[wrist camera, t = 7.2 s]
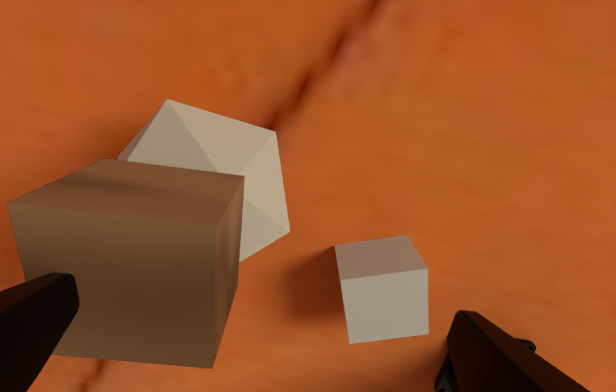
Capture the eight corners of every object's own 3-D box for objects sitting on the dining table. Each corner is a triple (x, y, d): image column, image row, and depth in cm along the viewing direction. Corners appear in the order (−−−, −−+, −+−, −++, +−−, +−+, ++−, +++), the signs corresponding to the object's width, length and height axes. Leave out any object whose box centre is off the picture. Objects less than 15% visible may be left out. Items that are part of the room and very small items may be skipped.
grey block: (408, 291, 23) (428, 334, 20) (342, 300, 24) (349, 343, 20) (406, 233, 21) (427, 268, 18) (334, 244, 22) (340, 280, 18)
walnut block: (237, 285, 13) (212, 368, 10) (118, 272, 13) (43, 354, 9) (244, 175, 11) (216, 227, 8) (105, 158, 11) (6, 203, 7)
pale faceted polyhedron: (124, 149, 19) (83, 310, 15) (138, 29, 13) (74, 239, 8) (249, 176, 23) (250, 310, 18) (305, 93, 17) (329, 263, 12)
